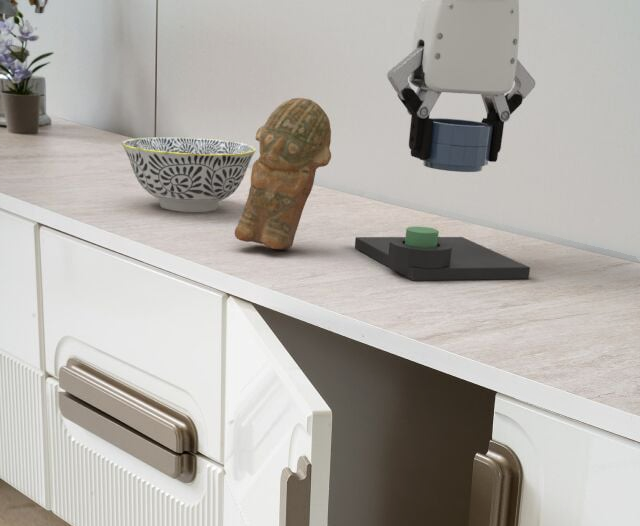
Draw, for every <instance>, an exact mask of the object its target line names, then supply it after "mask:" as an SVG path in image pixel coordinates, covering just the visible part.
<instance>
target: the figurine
mask: <svg viewBox="0 0 640 526" xmlns="http://www.w3.org/2000/svg"><path fill="white" fill-rule="evenodd" d="M331 138H332V129H331V123H330V118H329V116H328V115H327V113H326V112H325V110H324V109H323V108H322V107H321V106H320V105H319V104H318V103H317V102H315V101H313V100H312V99H309V98H304V97H295V98H291V99H287V100H285V101H283V102H282V103H281V104H279V105H278V106H277V107H276V108H275V109H274V110H273V111H272V112H271V113H270V115H269V116H268V117H267V120H266V121H265V123H264V124H263V125H261V126H260V127H259V128H258V129H257V131H256V134H255V140H256V141H257V142H259V157H258V159H256V160H255V161H254V162H253V164H252V166H251V174H250V186H249V187H250V188H249V191H248V194H247V195H248V196H247V199H246V202H245V205H244V207H243V211H242V213H241V215H240V218H239V220H238V223H237V225H236V226H235V229H234V237H235V238H236V239H237V240H239V241H241V242H246V243H249V242H251V243H257V244H261V245H264V246H266V247H267V248H269V249H273V250H282V251H287V250H290V249H291V248H292V247H293V245H294V240H295V237H296V233H297V230H298V228H299V224H300V221H301V218H302V214H303V211H304V210H305V209H304V208H305V205H306V202H307V201H308V198H309V196H310V194H311V192H312V190H313V186H314V183H315V177H316V172H317V170H318V169H319V168H322V167H326V166H328V165H329V163H330V161H331V159H332V152H331V150H330V149H331V148H330V146H331V141H332V139H331Z"/></svg>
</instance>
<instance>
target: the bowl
mask: <svg viewBox="0 0 640 526" xmlns="http://www.w3.org/2000/svg"><path fill="white" fill-rule="evenodd" d="M121 145H122V147H123V149H124V151H125V153H126V156H127V158H128V160H129V163H130V166H131V169H132V171H133V174H134V176H135V178H136V180H137V182H138V183H139V184H140V186H141V187H142V188H143V189H144V191H146V193H148V194H149V195H151V196H152V197H154V198H156V199H157V200H158V201H159V206H160V207H161V208H162V209H165V210H168V211H173V212H181V213H208V212H214V211H216V210H217V209H218V207H219V203H220V202H222V201H223V200H225V199H228V198H229V197H230V196H232V195H233V194H234V193H235V192H236V191H237V189H238V188H239V187H240V185H241V183H242V181H243V180H244V177H245V175H246V173H247V170H248V168H249V166H250V165H249V164H250V162H251V161H252V158H253V156H254V154H255V152H257V148H256V147H255V146H253V145H251V144H247V143H245V142H238V141H234V140H233V141H232V140H225V139H216V138H199V137H179V136H176V137H173V136H166V137H165V136H160V137H159V136H157V137H156V136H155V137H138V138H130V139H126V140H124V141H122V142H121Z"/></svg>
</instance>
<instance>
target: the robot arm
mask: <svg viewBox="0 0 640 526" xmlns="http://www.w3.org/2000/svg"><path fill="white" fill-rule="evenodd" d="M519 2H520V1H519V0H421V3H420V6H419V10H418V14H417V18H416V22H415V27H414V32H413V39H412V45H411V50H410V53H409V54H408V55H407V56H405V57H404V58H403V59H402V60H400V61H399V62H398V63H397V64H396V65H394V66H393V67H392V68H391V69H390V70H388V71H387V74H386V77H387V79H388V81H389V83H390V85H391V87H392V89H394V91H395V92H396V95H397V98H398V99H399V100H400V102H401V103H402V104H403V106H404V107H405V109H406V111H407V114H408V115H409V116H411V118H410V126H409V127H410V128H409V136H408V148H409V149H410V156H411V157H413V158H416V159H418V160H420V159H421V160H420V161H423V160H427V159H429V157H430V150H431V140H432V131H433V119H431V118H432V117H430V113H431V112H432V110H433V108H434V106H435V105H436V103H437V101H438V99H439V98H440V96H441V94H442V93H450V94H467V95H468V94H469V95H480V96H481V99H482V103H483V105H484V108H485V113H486V117H483V118H482V119H481V121H480V122H483V123H488V124H491V125H492V126H493V127H492V135H491V143H490V151H489V158H488V162H490V163H496V162H497V161H498V157H499V153H500V152H501V149H502V142H503V134H504V127H505V122H508V121H509V120H510V119H511V115H512V114H513V113H514V112H515V111H516V110H517V109H518V108H519V107H520V106H521V105H522V104H523V101H524V99H526V97H528V95H529V94H530V93H531V92H532V91H533V90H534V89H535V87H536V80H535V79H534V78H533V76H532V75H531V73H530V72H529V71H528V70H527V69H526V67H524V65H523V64H522V63H521V62H520V60H519V59H518V56H519V54H518V53H519V42H520V41H519V39H520V3H519ZM410 84H411V85H413V86H414V87H416V88H417V90H416V91H415V90H414V89H413V88H412V87H411V85H410ZM513 85H514V86H513Z"/></svg>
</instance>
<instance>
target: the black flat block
mask: <svg viewBox="0 0 640 526" xmlns="http://www.w3.org/2000/svg"><path fill="white" fill-rule="evenodd" d="M405 237H406V236H355V240H354V248H355V249H356V250H358V251H360V252H361V253H363V254H365V255H366V256H368V257H370V258H372V259H374V260H375V261H377V262H379V263H381V264H382V265H384V266H386V267H388V268H389V269H391V270H393V271H394V272H396V273H398V274H400V275H402V276H403V277H406V278H407V279H409V280H411V281H412V282H413V281H414V282H417V281H420V282H421V281H425V282H426V281H474V280H475V281H478V280H479V281H481V280H485V281H486V280H528V279H529V278H530V272H531V267H530V266H528V265H526V264H523V263H521V262H520V261H517V260H515V259H512V258H510V257H508V256H506V255H504V254H501V253H500V252H497V251H495V250H492V249H490V248H487V247H486V246H483V245H481V244H479V243H477V242H475V241H472V240H470V239H467V238H466V237H463V236H438V243H437V247H435V248H423V247H414V246H410V245H405Z"/></svg>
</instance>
